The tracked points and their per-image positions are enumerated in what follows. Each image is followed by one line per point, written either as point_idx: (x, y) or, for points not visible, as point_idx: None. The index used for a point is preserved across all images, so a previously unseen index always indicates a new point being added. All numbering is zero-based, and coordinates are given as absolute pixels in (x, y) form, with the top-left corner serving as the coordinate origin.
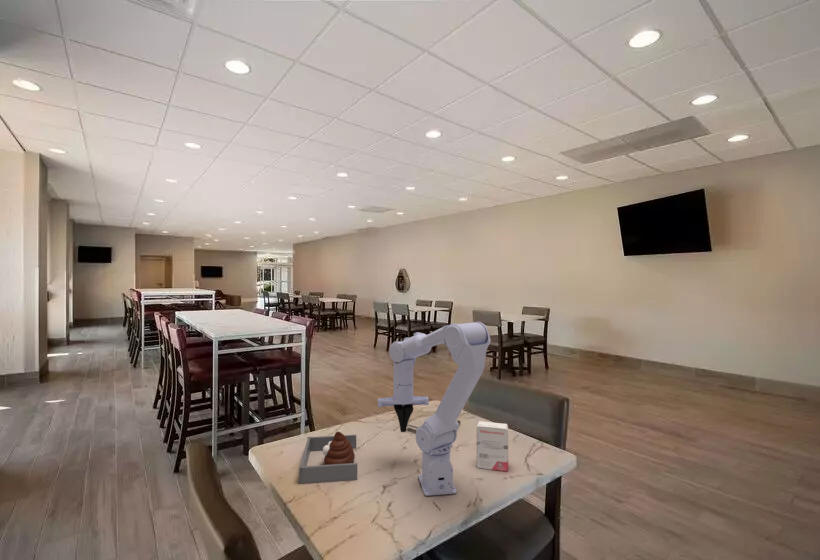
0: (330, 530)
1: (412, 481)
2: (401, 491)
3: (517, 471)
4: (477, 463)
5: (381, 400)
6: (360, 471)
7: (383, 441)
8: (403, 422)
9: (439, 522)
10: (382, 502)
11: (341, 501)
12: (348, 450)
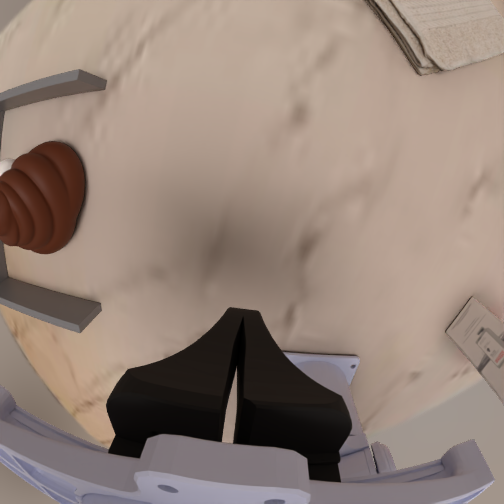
0: (92, 420)
1: None
2: None
3: None
4: (451, 339)
5: (6, 465)
6: (105, 268)
7: (221, 37)
8: (240, 364)
9: None
10: None
11: (86, 373)
12: (42, 236)
